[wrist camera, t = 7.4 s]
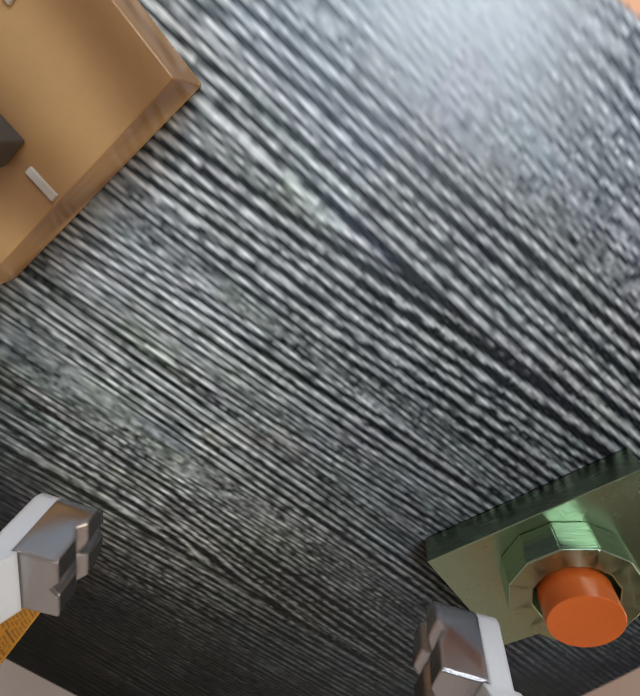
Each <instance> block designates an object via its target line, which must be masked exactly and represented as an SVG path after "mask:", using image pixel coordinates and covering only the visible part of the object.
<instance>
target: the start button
mask: <svg viewBox="0 0 640 696" xmlns="http://www.w3.org/2000/svg"><path fill="white" fill-rule="evenodd" d="M536 592H537V598H538V601H539V604H540V607H541V611H542V614H543V617H544V620H545V623H546V626H547V629H548V631H549V632H550V634H551V635H552V636H553V637H554V638H556V639H557V640H559V641H560V642H562V643H565V644H567V645H571V646H576V647H595V646H600V645H604V644H607V643H609V642H611V641H613V640H615V639H616V638H618V637H619V636H620V635H621V634H622V633H623V632H624V630H625V628H626V626H627V615H626V612H625V610H624V608H623V606H622V604H621V602H620V600H619V598H618V596H617V594H616V592H615V590H614V588H613V586H612V584H611V582H610V580H609V579H608V578H607V577H606V576H605V575H604V574H603V573H601V572H600V571H598V570H596V569H593V568H590V567H566V568H563V569H560V570H558V571H555V572H552V573H550V574H547V575H545V576H544V577H543V579H542V580H541V581H540V582H539V584H538V586H537V591H536Z"/></svg>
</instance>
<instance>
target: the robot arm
mask: <svg viewBox="0 0 640 696" xmlns="http://www.w3.org/2000/svg"><path fill="white" fill-rule="evenodd" d="M102 522H103V511H101V510H98V509H95V508H92V507H88V506H85V505H82V504H79V503H75V502H72V501H69V500H65V499H62V498H58V497H55V496H52V495H48V494H45V493H41V494H39V495H37V496H35V497H34V498H33V499H32V500H31V501H30V502H29V503H28V504H27V505H26V506H25V507H24V508H23V509H22V510H21V511H20V512H19V513H18V514H17V515H16V516H15V517H14V518H13V519H12V520H11V521H10V522H9V523H8V524H7V525H6V526H5V527H4V528H3V529H2V530H1V531H0V624H1V623H2V622H4V621H6V620H7V619H9V618H10V617H12V616H13V615H15V614H16V613H18V612H19V611H21V610H22V608H25V609H29V610H33V611H37V612H41V613H45V614H49V615H53V616H57V617H58V616H59V615H60V614H61V612H62V611H63V609H64V608H65V606H66V605H67V603H68V602H69V601H70V599H71V598H72V596H73V595H74V593H75V592H76V580H78V579H80V578H82V577H84V576H85V575H87V574H88V573H89V571H90V570H91V568H92V567H93V565H94V564H95V561H96V559H97V557H98V555H99V553H100V550H101V546H102V540H103V534H102V533H101V531H100V530H99V526H100V525H101V523H102ZM426 617H427V619H426V620H424V621H422V622H420V624H419V626H418V629H417V631H416V635H415V639H414V644H413V666H414V668H415V669H416V671H417V673H418V674H419V677H418V679H417V681H416V683H415V685H414V695H415V696H522V694H521V693H518V692H515V691H514V688H513V684H512V679H511V675H510V671H509V666H508V662H507V657H506V653H505V648H504V644H503V640H502V635H501V631H500V626H499V622H498V621H497V619H496V618H494V617H490V616H487V615H483V614H479V613H476V612H473V611H470V610H466V609H462V608H459V607H455V606H451V605H447V604H443V603H439V602H436V601H432V602H431V603H430V604H429V606H428V608H427V609H426Z"/></svg>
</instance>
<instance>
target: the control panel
mask: <svg viewBox="0 0 640 696" xmlns="http://www.w3.org/2000/svg"><path fill="white" fill-rule="evenodd" d="M200 87H201V82H200V81H199V80H198V79H197V77H196V76H195V75H194V73H193V72H192V71H191V69H190V68H189V67H188V65H187V64H186V63H185V62H184V60H183V59H182V58H181V56H180V55H179V54H178V52H177V51H176V50H175V49H174V47H173V46H172V45H171V43H170V42H169V41H168V39H167V38H166V37H165V35H164V34H163V33H162V32H161V30H160V29H159V28H158V26H157V25H156V24H155V22H154V21H153V20H152V18H151V17H150V16H149V15H148V13H147V12H146V11H145V9H144V8H143V7H142V5H141V4H140V3H139V2H138V0H0V114H1V115H2V116H3V117H4V118H5V119H6V120H7V121H8V123H9V124H10V125H11V126H12V127H13V128H14V129H15V130H16V132H17V133H18V134H19V135H20V136H21V137H22V138H23V139H24V143H23V144H22V146H21V147H20V148H19V149H18V150H17V151H16V153H15V154H14V155H13V156H12V157H11V158H10V160H9V161H8V162H7V163H6V164H5V165H4V167H0V284H3V283H5V282H8V281H10V280H13V279H15V278H16V277H17V276H18V275H19V274H20V273H21V272H22V271H23V270H24V269H25V268H26V267H27V266H28V265H29V264H30V263H31V262H32V261H33V260H34V259H35V257H36V256H37V255H38V254H39V253H40V252H41V251H42V250H43V249H44V248H45V247H46V246H47V245H48V244H49V243H50V242H51V241H52V240H53V239H54V238H55V237H56V236H57V235H58V234H59V233H60V232H61V231H62V230H63V228H64V227H65V226H66V225H67V224H68V223H69V222H70V221H71V220H72V219H73V218H74V217H75V216H76V215H77V214H78V213H79V212H80V211H81V210H82V209H83V208H84V207H85V206H86V205H87V204H88V203H89V202H90V201H91V199H92V198H93V197H94V196H95V195H96V194H97V193H98V192H99V191H100V190H101V189H102V188H103V187H104V186H105V185H106V184H107V183H108V182H109V181H110V180H111V179H112V178H113V177H114V176H115V175H116V174H117V173H118V172H119V170H120V169H121V168H122V167H123V166H124V165H125V164H126V163H127V162H128V161H129V160H130V159H131V158H132V157H133V156H134V155H135V154H136V153H137V152H138V151H139V150H140V149H141V148H142V147H143V146H144V145H145V144H146V143H147V141H148V140H149V139H150V138H151V137H152V136H153V135H154V134H155V133H156V132H157V131H158V130H159V129H160V128H161V127H162V126H163V125H164V124H165V123H166V122H167V121H168V120H169V119H170V118H171V117H172V116H173V115H174V114H175V112H176V111H177V110H178V109H179V108H180V107H181V106H182V105H183V104H184V103H185V102H186V101H187V100H188V99H189V98H190V97H191V96H192V95H193V94H194V93H195V92H196V91H197V90H198V89H199V88H200Z"/></svg>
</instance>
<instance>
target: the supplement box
mask: <svg viewBox="0 0 640 696" xmlns="http://www.w3.org/2000/svg"><path fill="white" fill-rule="evenodd" d="M39 614H40V612H37V611H33V610H29V609H25V608H22V610H21V611H19V612H18V613H16V614H15V615H13V616H12V617H10V618H9V619H7V620H6V621H4V622H2V623H1V624H0V664H1V663H2V662H3V661H4V659H5V658H6V657H7V655H8V654H9V653H10V652H11V650H12V649H13V648H14V646H15V645H16V644H17V642H18V641H19V640H20V638H21V637H22V636H23V635H24V633H25V632H26V631H27V629H28V628H29V627H30V625H31V624H32V623H33V622H34V620H35V619H36V618H37V616H38V615H39Z"/></svg>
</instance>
